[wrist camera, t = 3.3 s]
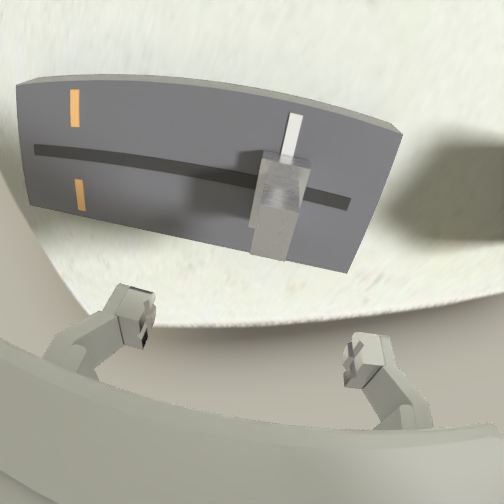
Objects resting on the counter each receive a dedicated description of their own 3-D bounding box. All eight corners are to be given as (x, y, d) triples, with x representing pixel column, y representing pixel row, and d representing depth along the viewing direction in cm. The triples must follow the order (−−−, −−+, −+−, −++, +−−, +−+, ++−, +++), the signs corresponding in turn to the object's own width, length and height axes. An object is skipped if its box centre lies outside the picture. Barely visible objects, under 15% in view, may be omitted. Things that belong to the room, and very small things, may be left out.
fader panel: (390, 123, 20) (403, 135, 18) (343, 251, 27) (347, 274, 25) (37, 77, 20) (14, 85, 18) (46, 190, 27) (29, 205, 25)
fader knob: (310, 160, 20) (313, 199, 15) (292, 224, 23) (289, 275, 18) (264, 150, 20) (253, 186, 15) (251, 215, 23) (238, 264, 18)
